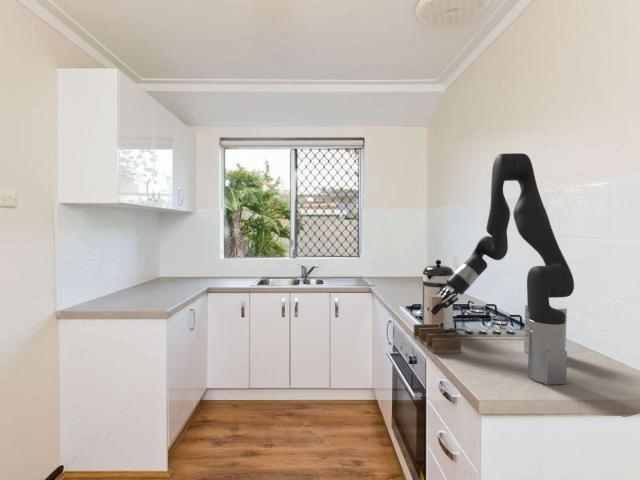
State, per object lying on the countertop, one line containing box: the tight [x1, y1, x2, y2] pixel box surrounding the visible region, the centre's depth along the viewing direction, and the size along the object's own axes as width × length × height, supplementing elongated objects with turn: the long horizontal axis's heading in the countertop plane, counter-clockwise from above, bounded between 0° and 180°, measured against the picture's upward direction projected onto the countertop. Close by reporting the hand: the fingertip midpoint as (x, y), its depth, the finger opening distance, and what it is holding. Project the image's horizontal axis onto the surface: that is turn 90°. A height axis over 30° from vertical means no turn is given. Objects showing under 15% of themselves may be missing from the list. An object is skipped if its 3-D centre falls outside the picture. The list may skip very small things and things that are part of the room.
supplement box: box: [523, 304, 568, 354], centre depth 138 cm, size 10×9×17 cm
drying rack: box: [413, 323, 462, 354], centre depth 150 cm, size 20×10×5 cm, turn 6°
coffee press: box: [421, 259, 456, 331], centre depth 169 cm, size 17×16×30 cm
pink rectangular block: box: [429, 295, 444, 324], centre depth 149 cm, size 3×4×10 cm, turn 97°
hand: (430, 311), depth 149 cm, fingers closed on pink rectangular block, 3 cm apart
